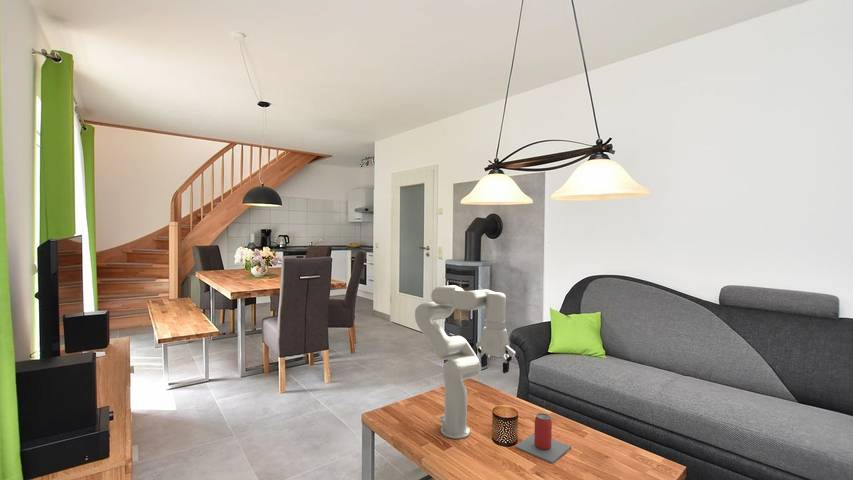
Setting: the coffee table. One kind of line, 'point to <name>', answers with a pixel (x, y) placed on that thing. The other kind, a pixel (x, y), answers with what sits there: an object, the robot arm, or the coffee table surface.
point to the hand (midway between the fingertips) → (494, 369)
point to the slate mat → (547, 455)
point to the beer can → (543, 431)
